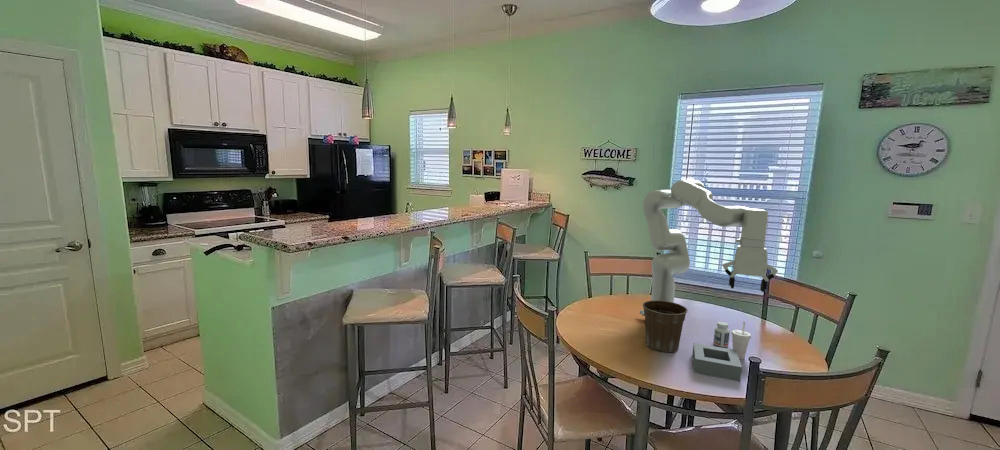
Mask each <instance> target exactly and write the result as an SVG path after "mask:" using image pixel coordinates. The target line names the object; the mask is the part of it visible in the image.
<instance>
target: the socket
mask: <svg viewBox="0 0 1000 450" xmlns="http://www.w3.org/2000/svg"><path fill="white" fill-rule="evenodd" d="M691 356H692V364H693V365H692V366H693V373H695V374H701V375H706V376H711V377H716V378H722V379H725V380H732V381H736V380H738V381H737V382H741V379H742V378H741V377H742V372H743V371H742V369H743V366H742V363H741V361H740V360H739V357H738V354H737V351H736V350H733V348H732V349H731V348H727V347H720V346H714V345H708V344H702V343H696V342H693V347H692V354H691Z"/></svg>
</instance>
